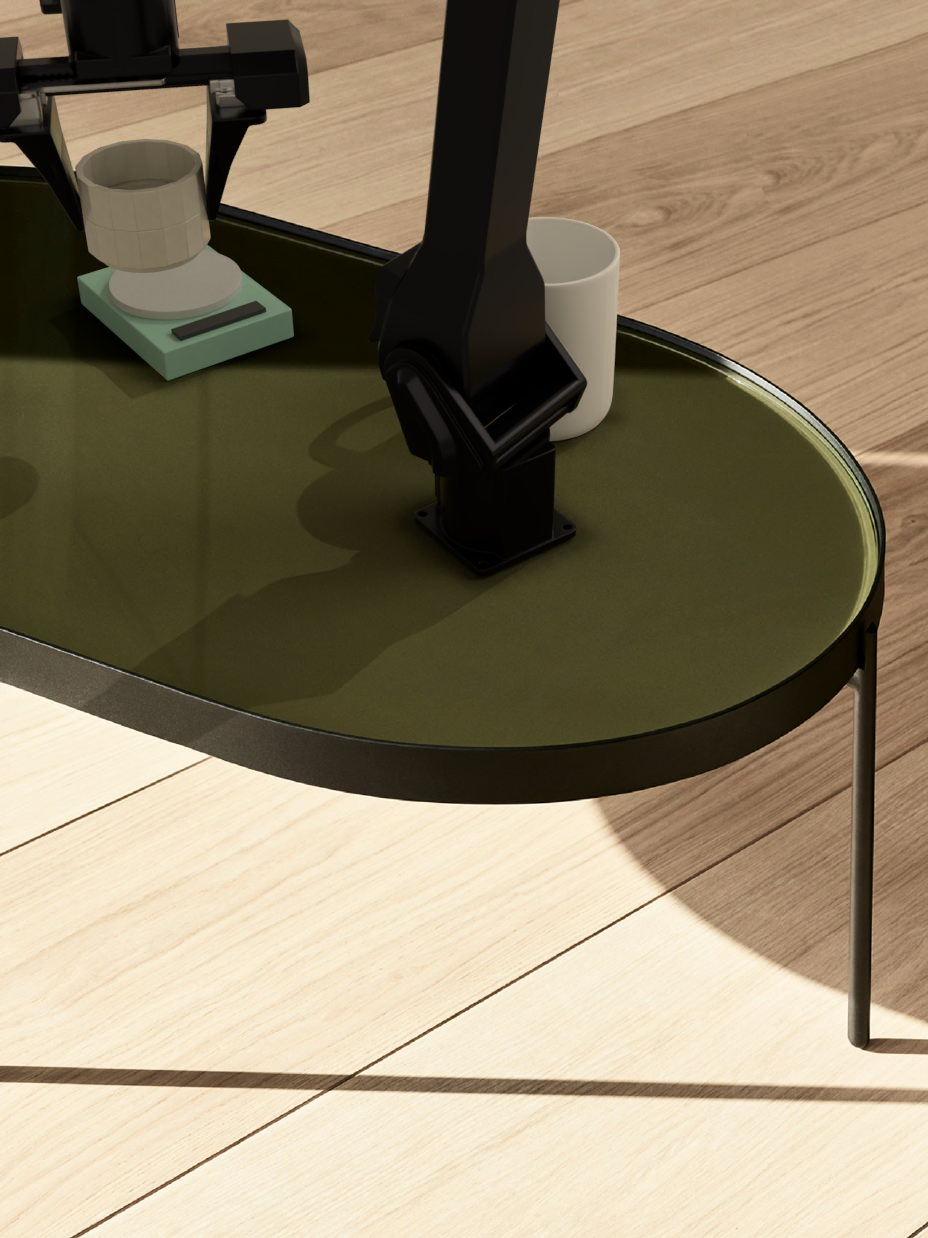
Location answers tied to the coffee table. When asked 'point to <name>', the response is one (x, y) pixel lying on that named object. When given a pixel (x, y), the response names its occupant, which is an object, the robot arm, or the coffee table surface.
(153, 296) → the scale
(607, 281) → the cup
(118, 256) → the bowl
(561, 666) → the coffee table surface
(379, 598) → the coffee table surface
